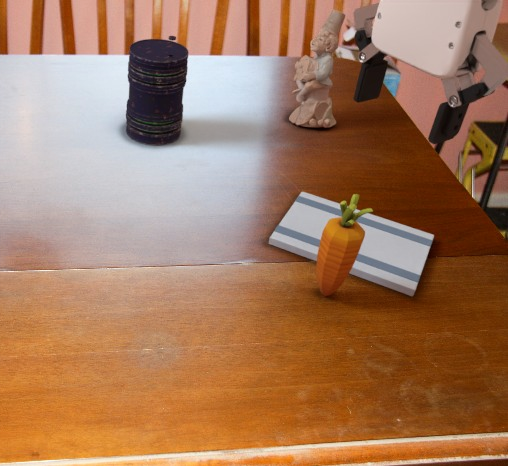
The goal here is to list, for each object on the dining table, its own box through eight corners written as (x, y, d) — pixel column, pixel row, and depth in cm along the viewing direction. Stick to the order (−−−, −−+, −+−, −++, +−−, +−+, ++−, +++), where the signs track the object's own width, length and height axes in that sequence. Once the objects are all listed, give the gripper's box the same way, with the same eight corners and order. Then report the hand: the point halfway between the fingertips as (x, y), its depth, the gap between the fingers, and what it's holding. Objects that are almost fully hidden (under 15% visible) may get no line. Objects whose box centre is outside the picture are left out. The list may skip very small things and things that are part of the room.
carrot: (322, 277, 86) (350, 182, 77) (352, 298, 83) (385, 202, 74) (297, 292, 84) (323, 195, 74) (327, 314, 81) (359, 216, 72)
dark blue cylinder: (113, 128, 115) (116, 27, 104) (155, 113, 121) (162, 16, 110) (150, 151, 109) (158, 47, 99) (192, 135, 115) (204, 35, 104)
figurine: (321, 109, 127) (345, 5, 115) (341, 130, 120) (369, 22, 108) (278, 112, 125) (299, 6, 113) (297, 133, 118) (321, 24, 106)
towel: (431, 241, 94) (434, 234, 94) (412, 297, 84) (415, 289, 84) (300, 197, 101) (302, 190, 101) (268, 244, 91) (269, 236, 91)
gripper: (581, -44, 51) (500, 150, 61) (409, -89, 62) (364, 80, 72) (523, -37, 47) (447, 167, 57) (352, -85, 59) (314, 91, 69)
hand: (401, 118), depth 65 cm, fingers open, 9 cm apart
